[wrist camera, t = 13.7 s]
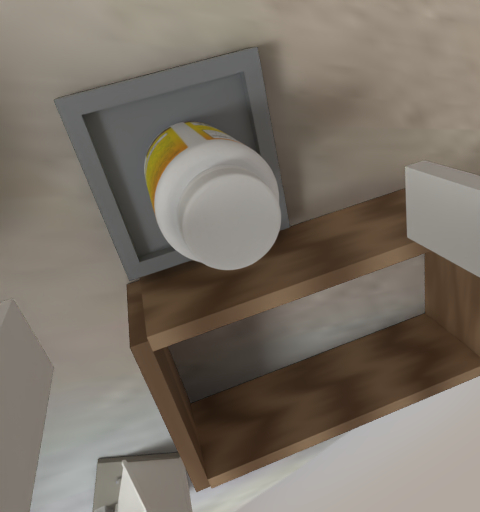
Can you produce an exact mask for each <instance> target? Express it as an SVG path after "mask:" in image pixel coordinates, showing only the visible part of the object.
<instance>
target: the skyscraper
mask: <svg viewBox="0 0 480 512" xmlns="http://www.w3.org/2000/svg"><path fill="white" fill-rule="evenodd" d="M93 512H192V506H191V500H190V493H189V487H188V481H187V475H186V469H185V466H184V464H183V462H182V459H181V457H180V455H179V453H178V452H177V453H165V454H153V455H140V456H128V457H116V458H104V459H98V464H97V473H96V483H95V493H94V503H93Z"/></svg>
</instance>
